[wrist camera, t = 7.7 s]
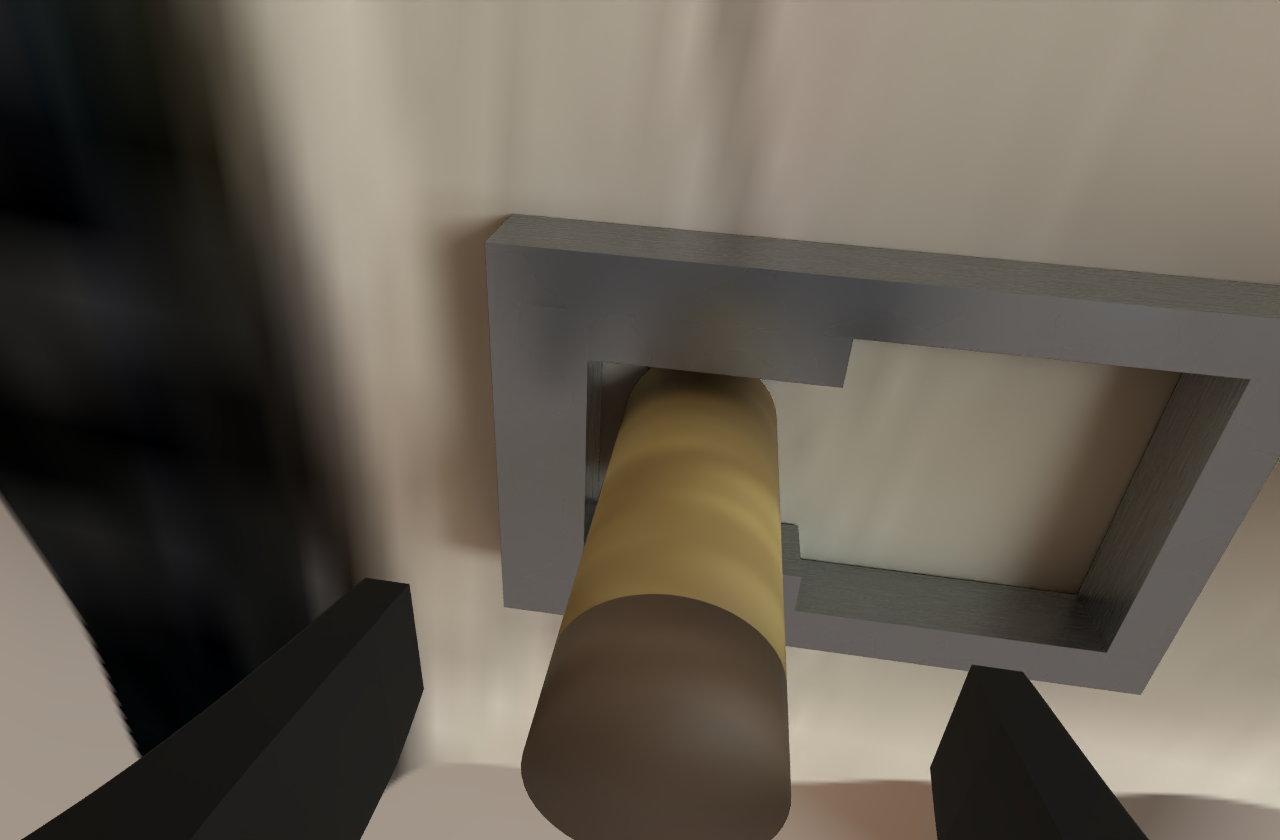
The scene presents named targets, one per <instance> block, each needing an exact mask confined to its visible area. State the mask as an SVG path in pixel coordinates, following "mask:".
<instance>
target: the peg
mask: <svg viewBox="0 0 1280 840" xmlns="http://www.w3.org/2000/svg"><path fill="white" fill-rule="evenodd" d="M521 774H522V779H523V783H524V786H525V789H526V791H527V793H528V795H529V797H530V799H531V800H532V802H533V803H534V805H535V807H536V808H537V809H538V810H539V811H540V812H541V814H542V815H543V816H544V817H545V818H546V819H547V820H548V821H549V822H550V823H552V824H553V825H554V826H555V827H556V828H558V829H559V830H560V831H562V832H563V833H564V834H566V835H567V836H569V837H571V838H572V839H574V840H771V839H772V838H774V837H775V836H776V835H777V833H778V832H779V831H780V829H781V828H782V827H783V825H784V823H785V821H786V819H787V817H788V814H789V810H790V806H791V780H790V754H789V728H788V702H787V676H786V650H785V624H784V598H783V572H782V546H781V520H780V494H779V468H778V442H777V417H776V410H775V406H774V402H773V399H772V397H771V395H770V393H769V391H768V390H767V388H766V387H765V385H764V384H763V383H762V381H761V380H760V379H758V378H749V377H740V376H730V375H721V374H712V373H703V372H694V371H684V370H675V369H666V368H657V367H652V368H651V369H649V370H648V371H647V372H646V373H645V374H644V375H643V376H642V377H641V378H640V379H639V380H638V382H637V383H636V384H635V386H634V388H633V389H632V391H631V393H630V396H629V399H628V402H627V405H626V408H625V412H624V415H623V419H622V422H621V425H620V429H619V432H618V435H617V439H616V442H615V445H614V449H613V452H612V456H611V459H610V462H609V466H608V469H607V472H606V476H605V479H604V482H603V486H602V489H601V493H600V496H599V499H598V503H597V506H596V509H595V513H594V516H593V519H592V523H591V526H590V529H589V533H588V536H587V540H586V543H585V546H584V550H583V553H582V556H581V560H580V563H579V566H578V570H577V573H576V577H575V580H574V583H573V587H572V590H571V593H570V597H569V600H568V603H567V607H566V610H565V613H564V617H563V620H562V624H561V627H560V630H559V634H558V637H557V640H556V644H555V647H554V650H553V654H552V657H551V661H550V664H549V667H548V671H547V674H546V677H545V681H544V684H543V687H542V691H541V694H540V698H539V701H538V704H537V708H536V711H535V714H534V718H533V721H532V724H531V728H530V731H529V734H528V738H527V741H526V745H525V748H524V751H523V755H522V762H521Z"/></svg>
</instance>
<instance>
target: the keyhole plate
mask: <svg viewBox="0 0 1280 840" xmlns="http://www.w3.org/2000/svg"><path fill="white" fill-rule="evenodd" d="M485 255H486V274H487V293H488V312H489V331H490V350H491V369H492V388H493V407H494V426H495V445H496V464H497V483H498V502H499V521H500V540H501V559H502V578H503V597H504V607H508V608H516V609H523V610H530V611H537V612H545V613H552V614H559V615H564V613H565V610H566V607H567V603H568V600H569V597H570V593H571V590H572V587H573V583H574V580H575V577H576V573H577V570H578V566H579V563H580V560H581V556H582V553H583V550H584V546H585V543H586V540H587V536H588V533H589V529H590V526H591V523H592V519H593V516H594V513H595V509H596V506H597V503H598V486H599V454H600V422H601V390H602V362H611V363H620V364H629V365H639V366H648V367H657V368H666V369H675V370H684V371H694V372H703V373H712V374H721V375H730V376H740V377H749V378H758V379H767V380H776V381H786V382H795V383H804V384H813V385H822V386H832V387H841V388H843V384H844V379H845V375H846V370H847V366H848V361H849V356H850V352H851V347H852V342H853V338H855V339H864V340H874V341H884V342H893V343H903V344H913V345H922V346H932V347H942V348H951V349H961V350H971V351H980V352H990V353H1000V354H1010V355H1019V356H1029V357H1039V358H1048V359H1058V360H1068V361H1077V362H1087V363H1097V364H1106V365H1116V366H1126V367H1135V368H1145V369H1155V370H1164V371H1174V372H1183V373H1182V375H1181V377H1180V379H1179V381H1178V383H1177V386H1176V388H1175V390H1174V392H1173V394H1172V396H1171V398H1170V400H1169V402H1168V405H1167V407H1166V409H1165V411H1164V413H1163V415H1162V417H1161V419H1160V421H1159V424H1158V426H1157V428H1156V430H1155V432H1154V434H1153V436H1152V438H1151V441H1150V443H1149V445H1148V447H1147V449H1146V451H1145V453H1144V455H1143V457H1142V460H1141V462H1140V464H1139V466H1138V468H1137V470H1136V472H1135V474H1134V477H1133V479H1132V481H1131V483H1130V485H1129V487H1128V489H1127V491H1126V493H1125V496H1124V498H1123V500H1122V502H1121V504H1120V506H1119V508H1118V510H1117V513H1116V515H1115V517H1114V519H1113V521H1112V523H1111V525H1110V527H1109V529H1108V532H1107V534H1106V536H1105V538H1104V540H1103V542H1102V544H1101V546H1100V548H1099V551H1098V553H1097V555H1096V557H1095V559H1094V561H1093V563H1092V565H1091V568H1090V570H1089V572H1088V574H1087V576H1086V578H1085V580H1084V582H1083V584H1082V587H1081V589H1080V591H1079V593H1078V595H1076V594H1068V593H1060V592H1052V591H1044V590H1037V589H1029V588H1021V587H1013V586H1005V585H998V584H990V583H982V582H974V581H967V580H959V579H951V578H943V577H935V576H928V575H920V574H912V573H904V572H896V571H889V570H881V569H873V568H865V567H857V566H850V565H842V564H834V563H826V562H818V561H811V560H803V559H800V546H799V531H798V526H796V525H788V524H781V546H782V572H783V598H784V624H785V646H791V647H798V648H805V649H812V650H820V651H827V652H834V653H841V654H849V655H856V656H863V657H870V658H878V659H885V660H892V661H899V662H907V663H914V664H921V665H928V666H936V667H943V668H950V669H957V670H964V671H969V670H970V667H971V665H979V666H986V667H994V668H1001V669H1008V670H1015V671H1022V672H1024V674H1025V675H1026V676H1027V678H1028V679H1030V680H1037V681H1044V682H1051V683H1059V684H1066V685H1073V686H1080V687H1088V688H1095V689H1102V690H1109V691H1117V692H1124V693H1131V694H1138V695H1141V693H1142V692H1143V690H1144V688H1145V687H1146V685H1147V683H1148V681H1149V680H1150V678H1151V676H1152V675H1153V673H1154V671H1155V669H1156V668H1157V666H1158V664H1159V663H1160V661H1161V659H1162V657H1163V656H1164V654H1165V652H1166V651H1167V649H1168V647H1169V645H1170V644H1171V642H1172V640H1173V639H1174V637H1175V635H1176V633H1177V632H1178V630H1179V628H1180V627H1181V625H1182V623H1183V621H1184V620H1185V618H1186V616H1187V615H1188V613H1189V611H1190V609H1191V608H1192V606H1193V604H1194V603H1195V601H1196V599H1197V597H1198V596H1199V594H1200V592H1201V591H1202V589H1203V587H1204V585H1205V584H1206V582H1207V580H1208V579H1209V577H1210V575H1211V573H1212V572H1213V570H1214V568H1215V567H1216V565H1217V563H1218V561H1219V560H1220V558H1221V556H1222V555H1223V553H1224V551H1225V549H1226V548H1227V546H1228V544H1229V543H1230V541H1231V539H1232V537H1233V536H1234V534H1235V532H1236V531H1237V529H1238V527H1239V525H1240V524H1241V522H1242V520H1243V519H1244V517H1245V515H1246V513H1247V512H1248V510H1249V508H1250V507H1251V505H1252V503H1253V501H1254V500H1255V498H1256V496H1257V495H1258V493H1259V491H1260V489H1261V488H1262V486H1263V484H1264V483H1265V481H1266V479H1267V477H1268V476H1269V474H1270V472H1271V471H1272V469H1273V467H1274V465H1275V464H1276V462H1277V460H1278V459H1279V457H1280V285H1269V284H1258V283H1248V282H1237V281H1226V280H1215V279H1205V278H1194V277H1183V276H1172V275H1162V274H1151V273H1140V272H1129V271H1119V270H1108V269H1097V268H1086V267H1076V266H1065V265H1054V264H1043V263H1033V262H1022V261H1011V260H1000V259H990V258H979V257H968V256H957V255H947V254H936V253H925V252H915V251H904V250H893V249H882V248H872V247H861V246H850V245H839V244H829V243H818V242H807V241H796V240H786V239H775V238H764V237H753V236H743V235H732V234H721V233H710V232H700V231H689V230H678V229H667V228H657V227H646V226H635V225H624V224H614V223H603V222H592V221H582V220H571V219H560V218H549V217H539V216H528V215H517V214H512V215H511V216H510V217H509V218H508V219H507V220H506V221H505V222H504V223H503V224H502V225H501V226H500V227H499V228H498V229H497V230H496V231H495V232H494V233H493V234H492V235H491V236H490V237H489V238H488V239H487V240H486V241H485Z"/></svg>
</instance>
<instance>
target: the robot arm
mask: <svg viewBox="0 0 1280 840" xmlns="http://www.w3.org/2000/svg"><path fill="white" fill-rule="evenodd" d="M423 690H424V687H423V680H422V672H421V665H420V658H419V651H418V643H417V636H416V629H415V622H414V614H413V607H412V600H411V593H410V585H409V584H405V583H398V582H391V581H384V580H377V579H370V578H365V579H363V580H362V581H361V582H359V583H358V584H357V585H356V586H354V587H353V588H352V589H351V590H349V591H348V592H347V593H346V594H345V595H343V596H342V597H341V598H340V599H339V600H338V601H336V602H335V603H334V604H333V605H332V606H330V607H329V608H328V609H327V610H326V611H325V612H323V613H322V614H321V615H320V616H319V617H318V618H316V619H315V620H314V621H313V622H312V623H310V624H309V625H308V626H307V627H306V628H305V629H303V630H302V631H301V632H300V633H299V634H298V635H296V636H295V637H294V638H293V639H292V640H290V641H289V642H288V643H287V644H286V645H284V646H283V647H282V648H281V649H280V650H278V651H277V652H276V653H275V654H274V655H273V656H271V657H270V658H269V659H268V660H266V661H265V662H264V663H263V664H262V665H260V666H259V667H258V668H257V669H255V670H254V671H253V672H252V673H250V674H249V675H248V676H247V677H245V678H244V679H243V680H242V681H241V682H239V683H238V684H237V685H236V686H234V687H233V688H232V689H231V690H229V691H228V692H227V693H226V694H225V695H223V696H222V697H221V698H220V699H218V700H217V701H216V702H215V703H213V704H212V705H211V706H209V707H208V708H207V709H206V710H204V711H203V712H202V713H200V714H199V715H198V716H196V717H195V718H194V719H192V720H191V721H190V722H188V723H187V724H186V725H184V726H183V727H182V728H180V729H179V730H178V731H176V732H175V733H174V734H172V735H171V736H170V737H169V738H167V739H166V740H165V741H163V742H162V743H161V744H159V745H158V746H157V747H155V748H154V749H153V750H151V751H150V752H149V753H147V754H146V755H145V756H143V757H142V758H141V759H139V760H138V761H136V762H135V763H134V764H132V765H131V766H130V767H128V768H127V769H126V770H124V771H123V772H121V773H120V774H118V775H117V776H115V777H114V778H113V779H111V780H110V781H108V782H107V783H105V784H104V785H103V786H101V787H100V788H98V789H97V790H96V791H94V792H93V793H91V794H90V795H88V796H87V797H85V798H84V799H82V800H81V801H79V802H78V803H77V804H75V805H73V806H72V807H70V808H69V809H67V810H66V811H64V812H63V813H61V814H60V815H58V816H57V817H55V818H54V819H52V820H51V821H49V822H48V823H46V824H45V825H43V826H42V827H40V828H39V829H37V830H36V831H34V832H32V833H31V834H29V835H28V836H26V837H25V838H23V839H22V840H360V839H361V836H362V835H363V833H364V831H365V829H366V827H367V825H368V823H369V821H370V819H371V817H372V815H373V813H374V811H375V809H376V806H377V804H378V802H379V800H380V798H381V796H382V794H383V792H384V790H385V788H386V786H387V784H388V782H389V780H390V778H391V776H392V773H393V771H394V769H395V767H396V765H397V763H398V760H399V757H400V755H401V752H402V749H403V747H404V744H405V741H406V738H407V736H408V733H409V730H410V728H411V725H412V722H413V719H414V716H415V713H416V710H417V707H418V704H419V702H420V699H421V696H422V693H423ZM930 772H931V782H932V791H933V803H934V812H935V821H936V830H937V838H938V840H1149V839H1148V838H1147V837H1146V835H1145V834H1144V833H1143V832H1142V830H1141V829H1140V828H1139V826H1138V825H1137V824H1136V823H1135V822H1134V820H1133V819H1132V818H1131V816H1130V815H1129V814H1128V812H1127V811H1126V810H1125V808H1124V807H1123V806H1122V804H1121V803H1120V802H1119V800H1118V799H1117V798H1116V797H1115V795H1114V794H1113V793H1112V791H1111V790H1110V789H1109V787H1108V786H1107V785H1106V783H1105V782H1104V781H1103V779H1102V778H1101V777H1100V775H1099V774H1098V772H1097V771H1096V770H1095V768H1094V767H1093V766H1092V764H1091V763H1090V762H1089V760H1088V759H1087V758H1086V756H1085V755H1084V754H1083V752H1082V751H1081V750H1080V748H1079V747H1078V745H1077V744H1076V743H1075V741H1074V740H1073V739H1072V737H1071V736H1070V735H1069V733H1068V732H1067V730H1066V729H1065V728H1064V726H1063V725H1062V724H1061V722H1060V721H1059V720H1058V718H1057V717H1056V715H1055V714H1054V713H1053V711H1052V710H1051V709H1050V707H1049V706H1048V705H1047V703H1046V702H1045V700H1044V699H1043V698H1042V696H1041V695H1040V694H1039V692H1038V691H1037V690H1036V688H1035V687H1034V686H1033V684H1032V683H1031V682H1030V680H1029V679H1028V678H1027V676H1026V675H1025V674H1024V672H1022V671H1015V670H1008V669H1001V668H994V667H986V666H979V665H971V667H970V670H969V672H968V675H967V677H966V680H965V682H964V685H963V687H962V690H961V692H960V695H959V697H958V700H957V702H956V705H955V707H954V710H953V712H952V715H951V717H950V720H949V722H948V725H947V727H946V730H945V732H944V735H943V737H942V740H941V742H940V744H939V747H938V749H937V752H936V754H935V757H934V759H933V762H932V764H931V767H930Z"/></svg>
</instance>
